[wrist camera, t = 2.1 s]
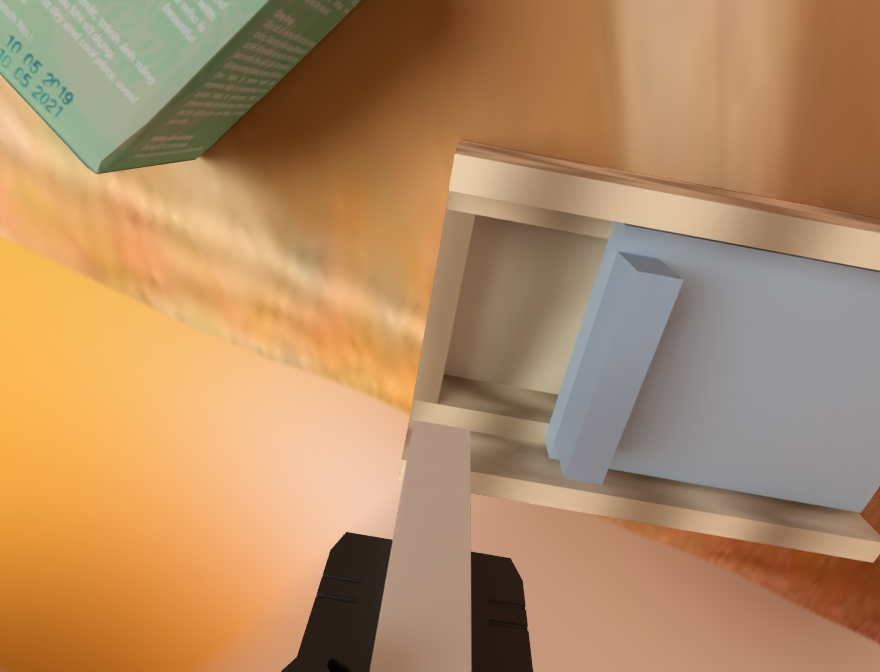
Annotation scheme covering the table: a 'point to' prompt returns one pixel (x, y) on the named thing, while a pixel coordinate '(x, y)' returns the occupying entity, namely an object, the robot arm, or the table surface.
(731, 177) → the table surface
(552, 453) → the cover plate
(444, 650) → the robot arm
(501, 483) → the case
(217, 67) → the box
